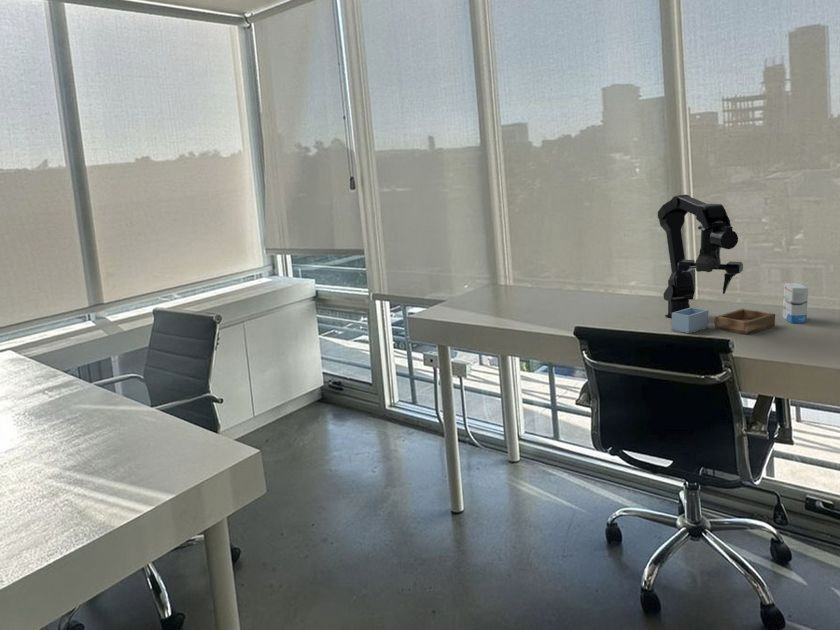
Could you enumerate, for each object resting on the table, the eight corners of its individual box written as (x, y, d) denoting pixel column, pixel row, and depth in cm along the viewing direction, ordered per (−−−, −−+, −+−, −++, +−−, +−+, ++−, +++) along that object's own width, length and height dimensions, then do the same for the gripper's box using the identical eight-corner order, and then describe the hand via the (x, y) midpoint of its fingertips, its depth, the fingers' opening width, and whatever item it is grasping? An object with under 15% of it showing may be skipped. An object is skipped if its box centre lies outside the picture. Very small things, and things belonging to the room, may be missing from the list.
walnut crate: (714, 328, 221) (715, 316, 220) (742, 320, 229) (742, 308, 228) (747, 335, 212) (747, 322, 211) (774, 325, 219) (775, 313, 218)
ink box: (806, 323, 220) (808, 287, 217) (790, 323, 221) (792, 288, 218) (797, 316, 228) (799, 282, 225) (781, 317, 229) (783, 283, 226)
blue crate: (671, 330, 223) (671, 312, 222) (691, 324, 228) (691, 307, 227) (688, 334, 218) (688, 315, 216) (708, 327, 223) (708, 310, 221)
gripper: (672, 247, 213) (671, 295, 217) (736, 250, 202) (733, 300, 206) (682, 242, 222) (681, 288, 226) (744, 244, 211) (742, 292, 215)
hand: (708, 292), depth 218 cm, fingers open, 9 cm apart
